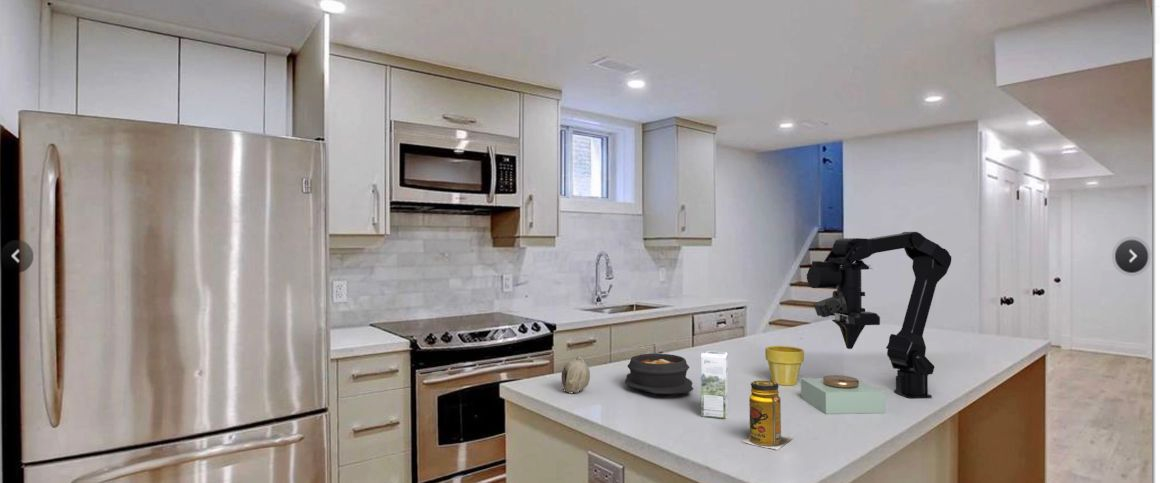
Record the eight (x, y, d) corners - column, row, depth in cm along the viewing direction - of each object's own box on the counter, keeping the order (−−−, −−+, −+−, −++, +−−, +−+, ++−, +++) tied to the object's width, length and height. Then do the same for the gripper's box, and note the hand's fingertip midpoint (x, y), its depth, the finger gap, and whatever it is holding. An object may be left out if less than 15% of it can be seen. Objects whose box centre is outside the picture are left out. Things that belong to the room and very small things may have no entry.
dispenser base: (854, 397, 150) (854, 377, 150) (884, 413, 136) (884, 391, 136) (801, 397, 149) (800, 378, 149) (826, 414, 135) (825, 392, 135)
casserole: (710, 397, 150) (709, 365, 150) (642, 403, 146) (642, 370, 146) (671, 376, 175) (670, 348, 175) (612, 380, 170) (612, 352, 170)
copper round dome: (848, 395, 147) (848, 375, 147) (865, 404, 139) (865, 382, 139) (817, 396, 146) (817, 375, 146) (832, 404, 138) (832, 383, 138)
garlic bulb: (573, 396, 162) (574, 360, 165) (597, 395, 157) (599, 358, 161) (551, 392, 155) (554, 355, 158) (576, 391, 150) (578, 353, 154)
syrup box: (728, 412, 137) (727, 351, 137) (726, 419, 132) (725, 356, 132) (703, 410, 139) (703, 349, 139) (700, 417, 134) (700, 354, 134)
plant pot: (798, 378, 170) (798, 345, 170) (808, 387, 160) (808, 352, 160) (762, 378, 171) (761, 345, 171) (770, 387, 161) (769, 351, 161)
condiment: (741, 442, 117) (741, 383, 117) (759, 432, 123) (758, 375, 123) (777, 451, 112) (776, 389, 112) (793, 439, 119) (792, 380, 119)
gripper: (802, 284, 157) (802, 342, 156) (835, 290, 138) (835, 356, 138) (843, 284, 157) (843, 342, 157) (881, 290, 138) (881, 355, 138)
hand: (849, 348), depth 147 cm, fingers closed
